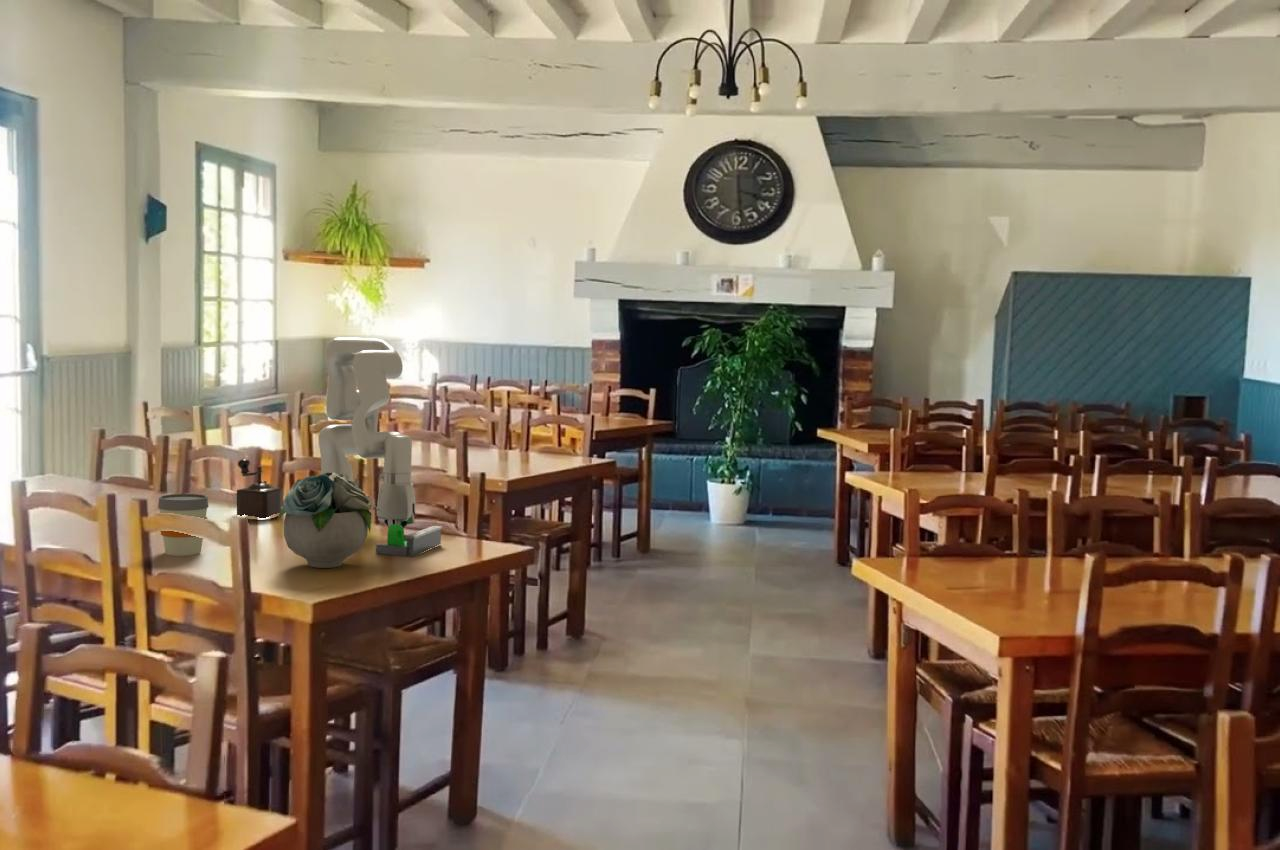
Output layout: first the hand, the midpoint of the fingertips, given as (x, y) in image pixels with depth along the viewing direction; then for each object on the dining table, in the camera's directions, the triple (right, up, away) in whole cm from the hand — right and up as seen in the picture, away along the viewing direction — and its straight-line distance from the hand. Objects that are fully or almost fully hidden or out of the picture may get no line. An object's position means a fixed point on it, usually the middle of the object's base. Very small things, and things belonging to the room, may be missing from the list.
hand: (396, 543), depth 328 cm
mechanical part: (+4, -2, -2) cm, 5 cm away
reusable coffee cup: (-53, -1, -17) cm, 56 cm away
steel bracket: (+4, -2, -1) cm, 4 cm away
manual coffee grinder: (-55, +4, +44) cm, 71 cm away
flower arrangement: (-13, -3, -27) cm, 30 cm away
